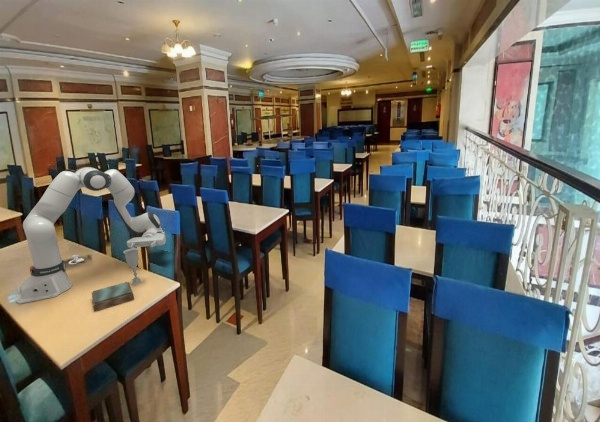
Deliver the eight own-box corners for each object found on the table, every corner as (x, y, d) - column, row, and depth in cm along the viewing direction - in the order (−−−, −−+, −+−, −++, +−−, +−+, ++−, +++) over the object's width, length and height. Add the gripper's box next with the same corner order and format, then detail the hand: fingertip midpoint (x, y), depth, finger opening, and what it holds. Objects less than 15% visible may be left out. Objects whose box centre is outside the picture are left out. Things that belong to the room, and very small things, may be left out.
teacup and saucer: (84, 262, 195) (82, 256, 194) (68, 266, 191) (66, 260, 190) (84, 258, 202) (82, 252, 201) (68, 261, 198) (67, 255, 197)
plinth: (94, 311, 142) (93, 303, 141) (92, 298, 153) (91, 291, 152) (134, 299, 151) (132, 292, 150) (129, 287, 162) (128, 280, 161)
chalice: (137, 286, 163) (131, 253, 158) (126, 285, 164) (119, 253, 160) (147, 279, 170) (141, 248, 165) (136, 278, 171) (130, 247, 166)
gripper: (131, 234, 186) (120, 243, 173) (167, 231, 188) (159, 240, 175) (133, 244, 188) (123, 253, 175) (168, 241, 190) (161, 250, 177)
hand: (141, 246), depth 175 cm, fingers open, 8 cm apart
